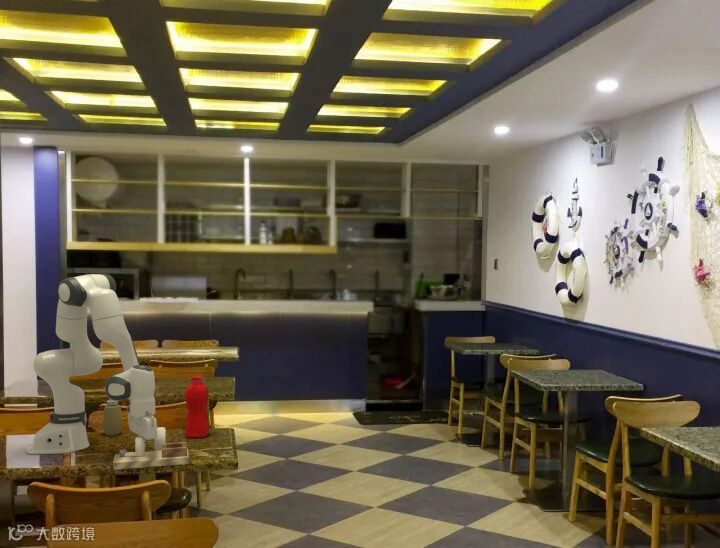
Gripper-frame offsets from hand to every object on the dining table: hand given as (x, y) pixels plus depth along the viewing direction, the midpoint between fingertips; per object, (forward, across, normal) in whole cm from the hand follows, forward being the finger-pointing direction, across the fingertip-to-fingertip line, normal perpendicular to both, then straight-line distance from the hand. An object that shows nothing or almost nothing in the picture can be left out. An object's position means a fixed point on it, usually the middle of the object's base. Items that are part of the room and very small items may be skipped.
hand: (143, 447), depth 262 cm
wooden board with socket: (+5, -5, -1) cm, 7 cm away
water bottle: (+5, +21, -32) cm, 38 cm away
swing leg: (+2, -1, +5) cm, 5 cm away
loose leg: (+5, +7, -9) cm, 12 cm away
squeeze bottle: (+5, +46, -4) cm, 47 cm away
